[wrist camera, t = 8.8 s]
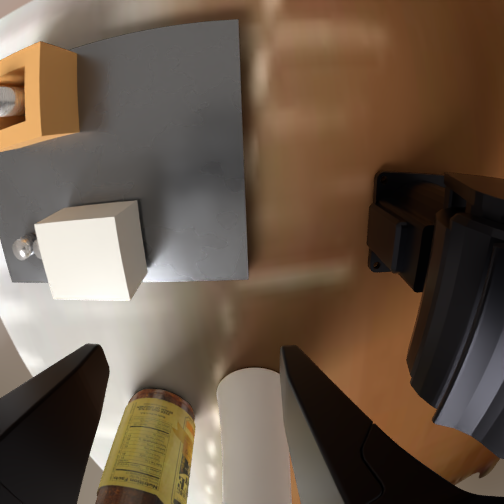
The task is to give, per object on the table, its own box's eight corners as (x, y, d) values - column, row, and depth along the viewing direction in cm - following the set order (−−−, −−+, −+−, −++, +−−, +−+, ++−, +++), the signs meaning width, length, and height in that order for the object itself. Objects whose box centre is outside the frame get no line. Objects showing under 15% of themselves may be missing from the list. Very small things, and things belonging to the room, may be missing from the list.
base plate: (238, 25, 15) (235, -19, 9) (248, 271, 20) (249, 327, 14) (-6, 85, 15) (-65, 85, 9) (20, 275, 20) (-26, 315, 14)
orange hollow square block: (77, 53, 14) (40, 41, 10) (79, 132, 16) (41, 136, 12) (16, 76, 14) (-23, 73, 10) (19, 148, 16) (-21, 156, 12)
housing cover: (137, 200, 17) (114, 216, 14) (147, 272, 19) (130, 300, 15) (64, 207, 17) (34, 224, 14) (78, 273, 19) (53, 299, 15)
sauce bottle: (183, 435, 27) (158, 622, 8) (122, 411, 26) (68, 597, 7) (210, 399, 25) (190, 631, 6) (140, 370, 23) (70, 603, 5)
